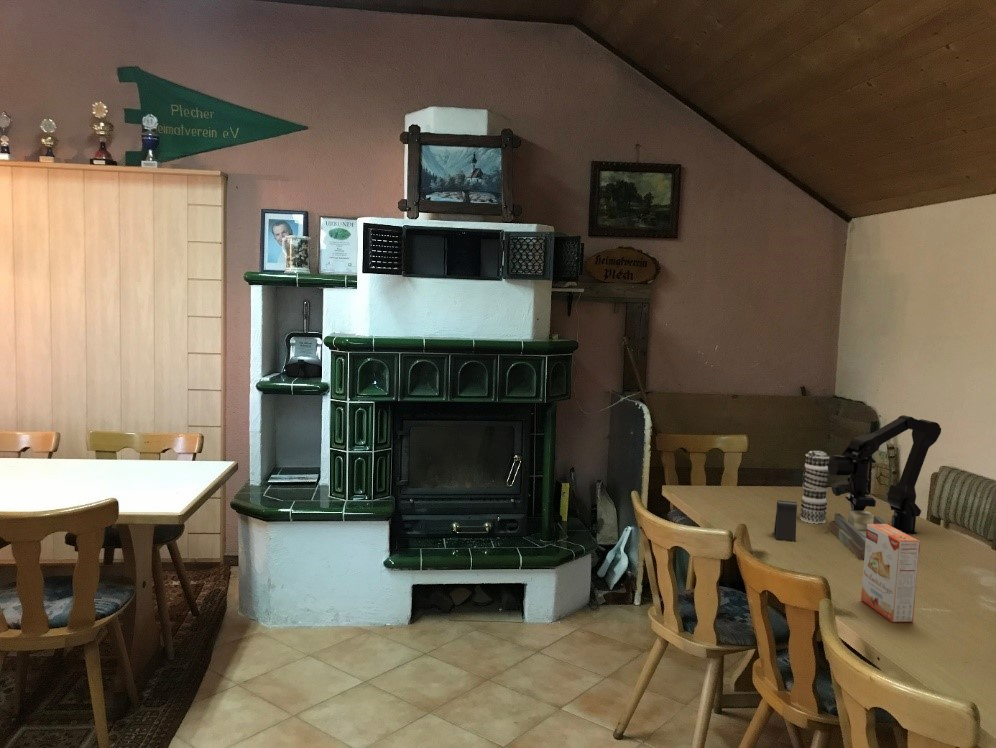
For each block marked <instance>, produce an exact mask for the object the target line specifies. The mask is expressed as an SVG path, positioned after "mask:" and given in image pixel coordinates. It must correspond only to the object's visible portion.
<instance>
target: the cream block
mask: <svg viewBox="0 0 996 748" xmlns="http://www.w3.org/2000/svg"><path fill="white" fill-rule="evenodd" d="M874 516H875V515H873V514H872V513H871V512H870V511H868V510H863V511H859V510H851V509H849V510H848V519H847V521H848V522H849V523H851V524H852V525H853V526H854V527H855V528H856V529H857V530H867V524H873V521H874Z"/></svg>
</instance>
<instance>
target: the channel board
mask: <svg viewBox="0 0 996 748" xmlns="http://www.w3.org/2000/svg"><path fill="white" fill-rule="evenodd" d="M873 516H874V521H873V524H888V522H886V521H885V520H884V519H882V518H881V517H880V516H877V515H873ZM833 519H834V520H830V521H829V530H830V532H832V533H833V534H834V535H835V536H836V537H837V538H838V539H839V540H840V542H842V543H843V544H844V545H845V546H846V547H847V548H848V549H849V550H850V551H851V552H852V553H853V554H854V555H855V556H856V557H857V558H858V559H859V560H862V559H864V556H865V543H866V531H867V530H857V529H856V528H855V527H854V526H853V525H852V524H851V523H849V522H848V519H847V518H845V517H844V516H843V515H842V514H841V513H834V518H833ZM888 525H890V524H888Z"/></svg>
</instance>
